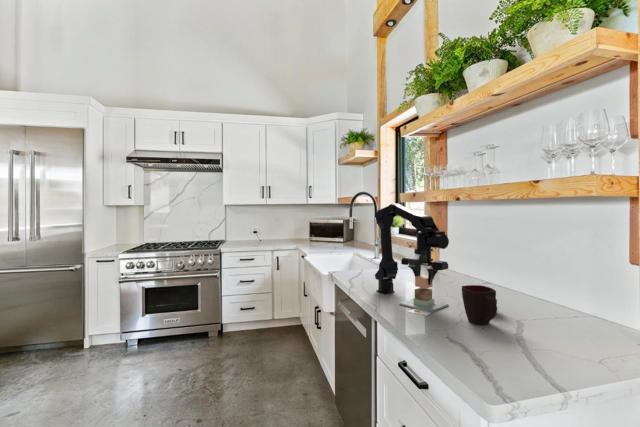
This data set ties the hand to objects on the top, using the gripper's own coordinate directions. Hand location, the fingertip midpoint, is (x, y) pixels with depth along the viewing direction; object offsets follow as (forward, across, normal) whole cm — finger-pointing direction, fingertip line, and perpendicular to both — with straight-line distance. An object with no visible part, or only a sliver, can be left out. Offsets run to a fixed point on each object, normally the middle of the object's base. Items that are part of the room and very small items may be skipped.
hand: (423, 283), depth 133 cm
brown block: (+6, 0, 0) cm, 6 cm away
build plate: (+9, 0, 0) cm, 9 cm away
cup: (+9, +25, -4) cm, 27 cm away
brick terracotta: (+1, 0, 0) cm, 1 cm away
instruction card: (+9, +4, -9) cm, 13 cm away
